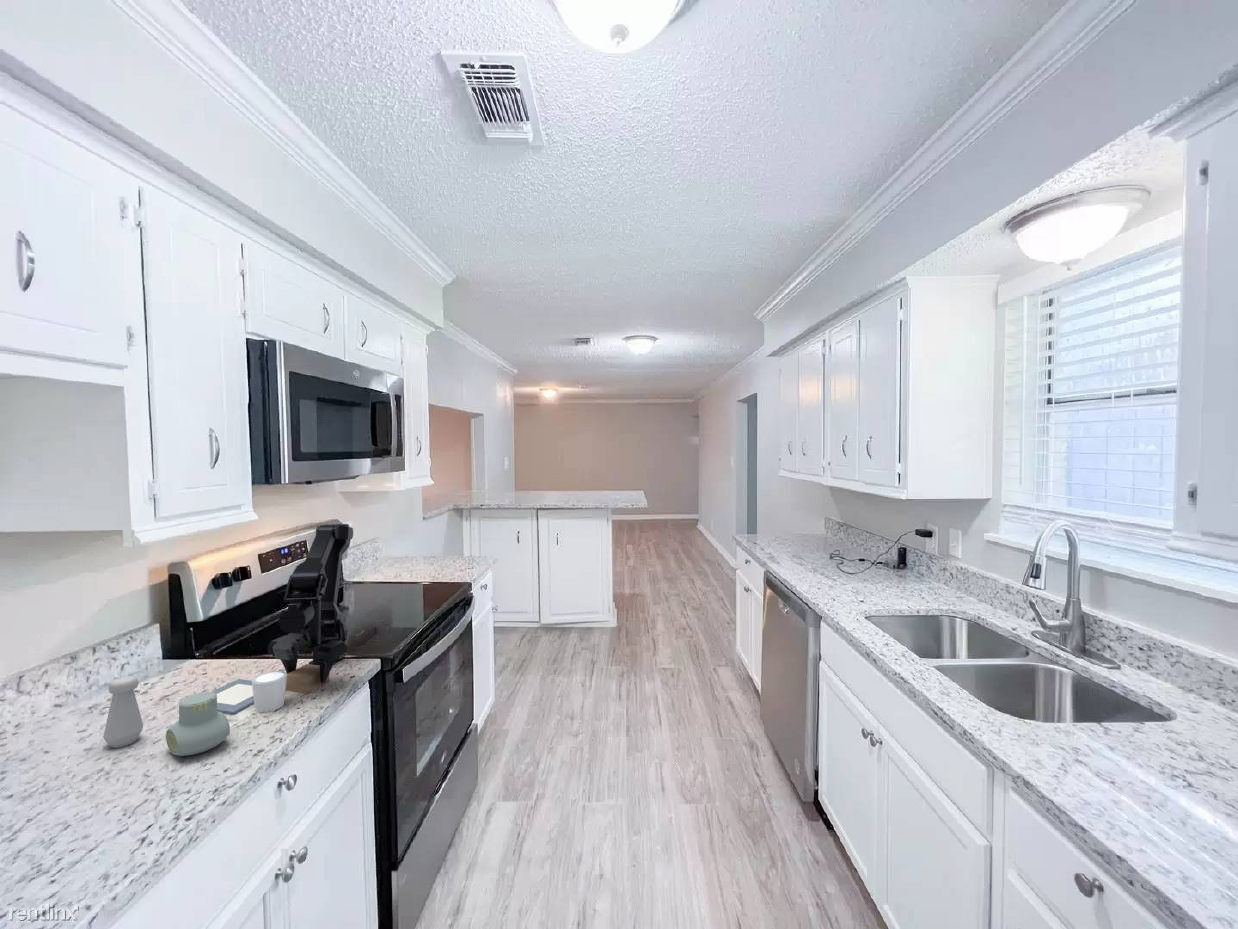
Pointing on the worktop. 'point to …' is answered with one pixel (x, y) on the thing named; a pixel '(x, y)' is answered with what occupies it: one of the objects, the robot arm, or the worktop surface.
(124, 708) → the salt shaker
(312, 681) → the walnut block
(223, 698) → the board
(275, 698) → the white cup
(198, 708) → the air freshener
